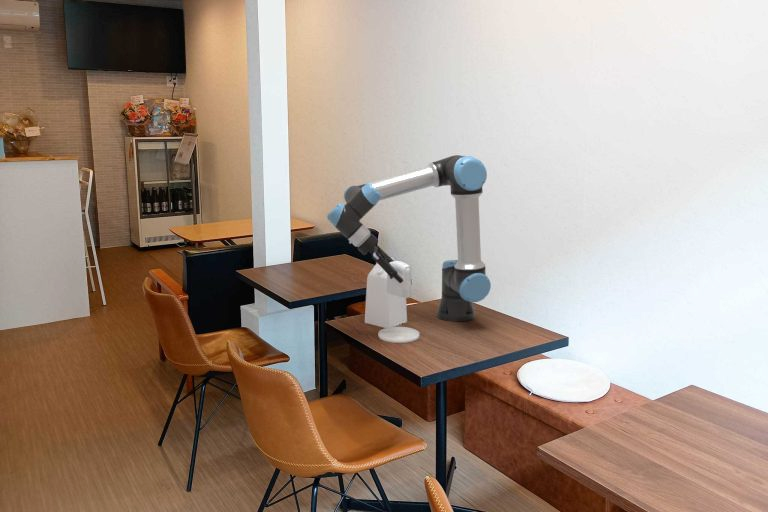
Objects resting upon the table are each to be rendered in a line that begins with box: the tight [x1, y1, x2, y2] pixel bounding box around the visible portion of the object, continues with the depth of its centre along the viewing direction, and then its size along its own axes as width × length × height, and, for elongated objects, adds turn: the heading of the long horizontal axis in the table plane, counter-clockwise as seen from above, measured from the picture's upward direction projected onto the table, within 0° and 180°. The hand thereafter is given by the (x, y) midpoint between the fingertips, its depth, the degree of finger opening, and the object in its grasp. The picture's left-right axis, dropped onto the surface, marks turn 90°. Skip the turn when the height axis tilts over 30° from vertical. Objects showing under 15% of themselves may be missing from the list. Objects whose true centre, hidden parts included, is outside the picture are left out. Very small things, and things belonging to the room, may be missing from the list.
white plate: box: [377, 326, 420, 344], centre depth 239 cm, size 15×15×1 cm
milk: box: [364, 256, 408, 329], centre depth 254 cm, size 12×12×26 cm
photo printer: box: [387, 260, 412, 299], centre depth 234 cm, size 10×4×12 cm, turn 39°
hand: (408, 284), depth 235 cm, fingers closed on photo printer, 9 cm apart
